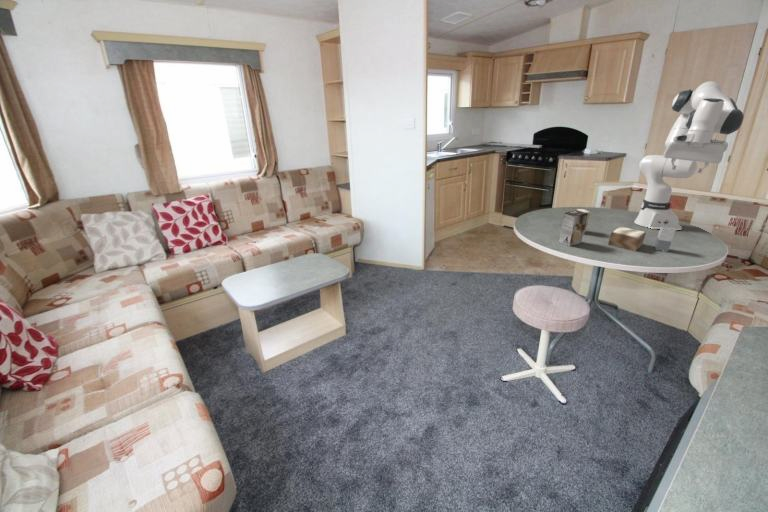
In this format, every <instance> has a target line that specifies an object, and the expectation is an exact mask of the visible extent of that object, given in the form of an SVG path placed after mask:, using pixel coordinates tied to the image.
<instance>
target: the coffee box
mask: <svg viewBox="0 0 768 512" xmlns="http://www.w3.org/2000/svg"><path fill="white" fill-rule="evenodd" d="M587 215H588V213H585V212H581V211H578V210H577V209H575V210H572V211H567V212H564V216H563V220H562V225H561V229H560V230H561V231H560V235H559V240H558V243H559V242H560V243H559V244H562V243H563V245H565V246H567V245H568V246H567V247H572V246H576V245H579V244H582V241H583V236H584V233H583V232H584V228H585V223H586V219H587Z"/></svg>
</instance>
